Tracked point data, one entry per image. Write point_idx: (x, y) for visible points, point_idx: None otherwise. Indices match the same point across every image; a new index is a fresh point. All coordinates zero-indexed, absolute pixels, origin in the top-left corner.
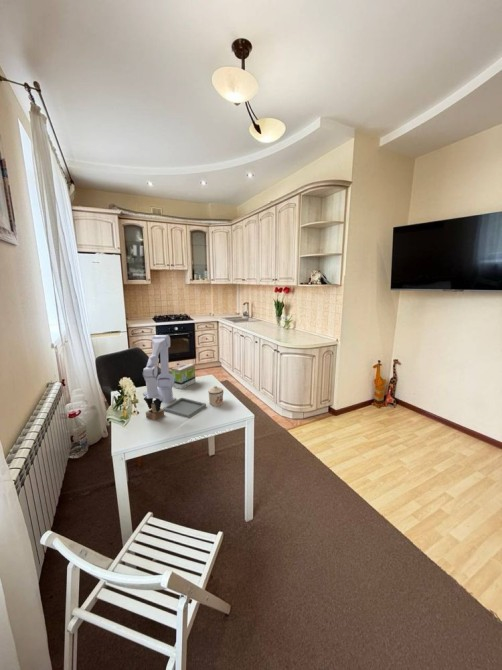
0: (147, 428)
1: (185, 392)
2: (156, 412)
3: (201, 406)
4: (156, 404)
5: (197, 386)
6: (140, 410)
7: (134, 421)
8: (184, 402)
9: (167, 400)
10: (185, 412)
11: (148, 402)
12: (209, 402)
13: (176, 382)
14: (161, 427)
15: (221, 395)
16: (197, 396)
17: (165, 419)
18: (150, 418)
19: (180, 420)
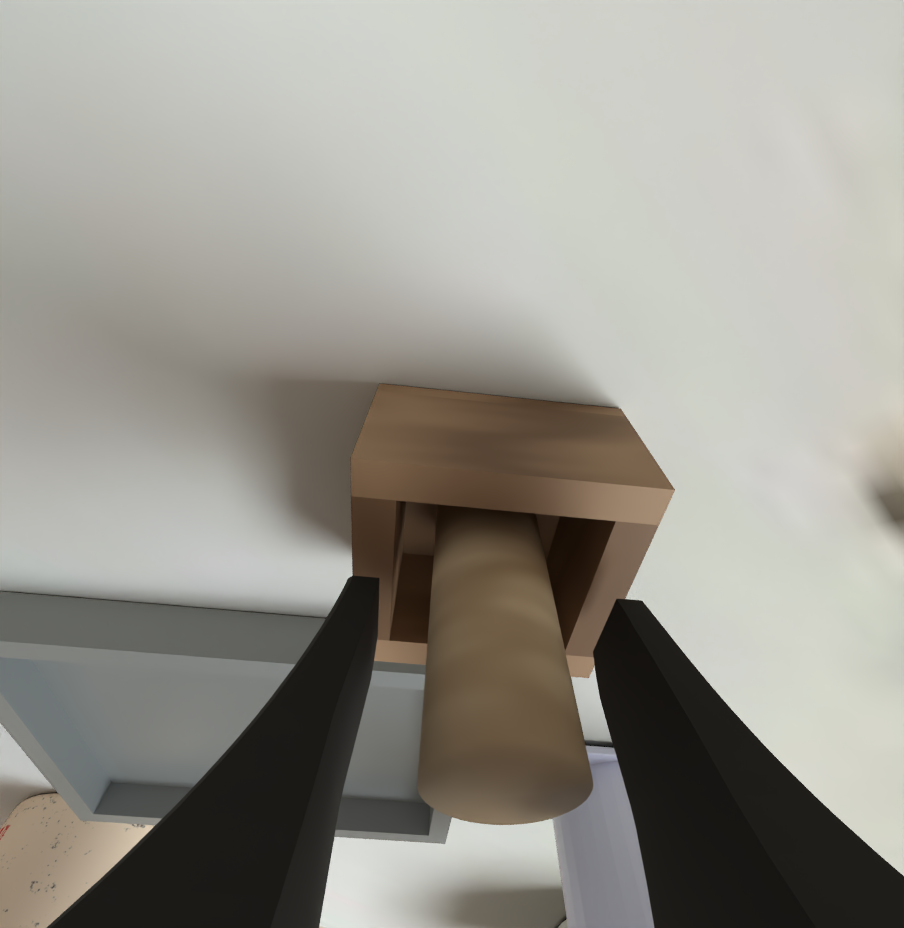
0: (284, 46)
1: (521, 868)
2: (393, 549)
3: (54, 786)
4: (163, 819)
5: (486, 915)
6: (884, 566)
7: (843, 219)
8: (370, 788)
9: None
10: (151, 674)
11: (718, 814)
12: (102, 829)
13: None
14: (44, 236)
15: None
16: (358, 851)
17: (261, 487)
18: (506, 410)
19: (28, 531)
